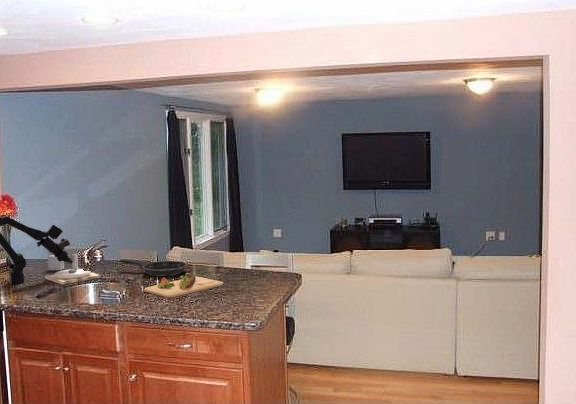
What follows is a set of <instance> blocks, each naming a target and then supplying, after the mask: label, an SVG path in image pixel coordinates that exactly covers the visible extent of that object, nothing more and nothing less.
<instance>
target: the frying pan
mask: <svg viewBox="0 0 576 404" xmlns="http://www.w3.org/2000/svg"><path fill="white" fill-rule="evenodd" d="M119 263H123V264H126V265H127V264H128V265H135V266H138V267H139V268H140V269H141V270H142V271H144V272H145V273H146V274H148V275H149V276H153V277H171V276H176V275H179V274H181V273H182V272H184V270H185V269H186V267H187V265H188V263H186V262H184V261H179V260H164V261H153V262H152V261H151V262H149V263H144V262H142V261H139V260H134V259H127V258H124V259H119Z"/></svg>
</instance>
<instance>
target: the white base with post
mask: <svg viewBox="0 0 576 404" xmlns="http://www.w3.org/2000/svg"><path fill="white" fill-rule="evenodd" d="M71 258H72V259H71V260H72V262H73V263H72V269H71V268H70V269H63V270H58V271H56V272H55V273H54V275H55V278H59V279H72V278H80V277H85V276H88V275H90V274H91V272H92V271H91V270H90V271H84V270H83V269H84V268H79V261H78V259H79V258H78V254H77V253H74V254H73V253H72V255H71Z"/></svg>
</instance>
